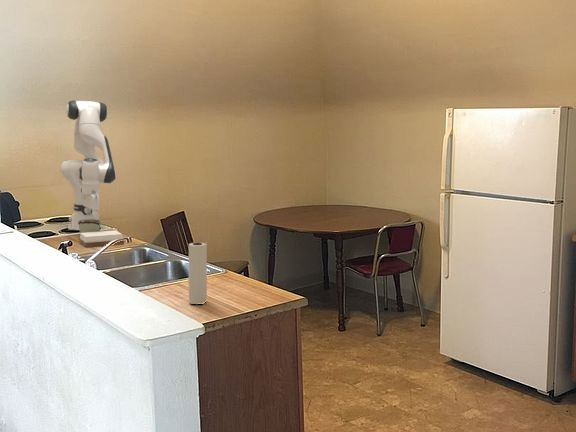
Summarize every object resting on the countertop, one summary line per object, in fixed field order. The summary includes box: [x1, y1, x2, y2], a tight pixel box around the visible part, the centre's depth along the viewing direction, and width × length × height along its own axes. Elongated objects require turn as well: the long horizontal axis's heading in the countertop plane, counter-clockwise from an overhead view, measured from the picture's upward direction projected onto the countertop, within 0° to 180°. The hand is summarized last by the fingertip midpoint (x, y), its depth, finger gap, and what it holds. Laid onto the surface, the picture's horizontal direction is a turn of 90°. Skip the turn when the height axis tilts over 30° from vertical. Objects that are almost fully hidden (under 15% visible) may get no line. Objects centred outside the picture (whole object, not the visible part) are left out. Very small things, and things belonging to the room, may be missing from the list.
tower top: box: [79, 230, 123, 243], centre depth 336 cm, size 12×18×3 cm, turn 120°
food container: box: [78, 219, 103, 234], centre depth 348 cm, size 12×6×10 cm, turn 84°
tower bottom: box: [78, 238, 125, 249], centre depth 337 cm, size 13×19×3 cm
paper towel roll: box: [188, 242, 208, 305], centre depth 233 cm, size 7×6×21 cm
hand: (91, 216), depth 347 cm, fingers open, 8 cm apart
